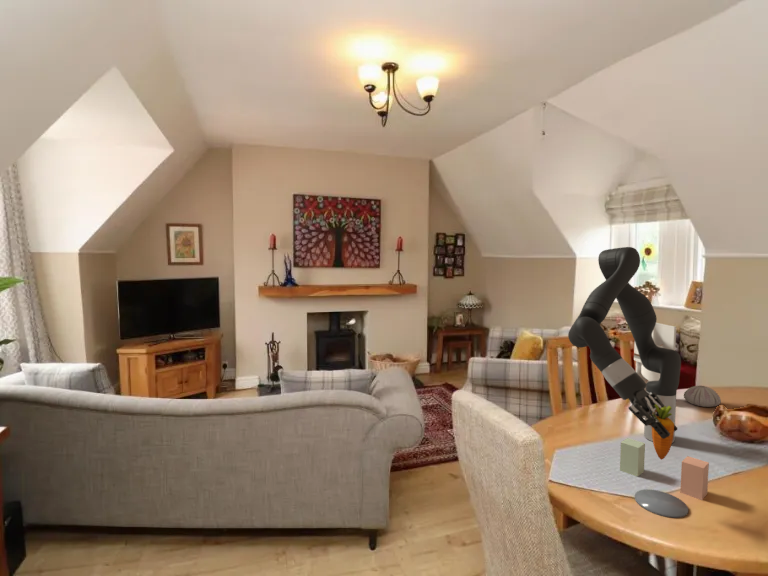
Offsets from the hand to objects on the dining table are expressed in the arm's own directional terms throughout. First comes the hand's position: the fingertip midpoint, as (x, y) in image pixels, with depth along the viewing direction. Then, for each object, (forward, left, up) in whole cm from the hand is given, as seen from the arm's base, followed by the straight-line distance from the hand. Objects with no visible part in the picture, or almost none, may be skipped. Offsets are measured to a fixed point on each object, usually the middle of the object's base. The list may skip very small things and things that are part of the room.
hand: (670, 433), depth 111 cm
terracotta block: (-13, +2, -20) cm, 24 cm away
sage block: (-13, -14, -20) cm, 27 cm away
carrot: (0, -2, -8) cm, 8 cm away
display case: (-86, -33, -20) cm, 94 cm away
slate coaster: (0, -2, -20) cm, 20 cm away
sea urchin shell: (-100, -18, -20) cm, 104 cm away
